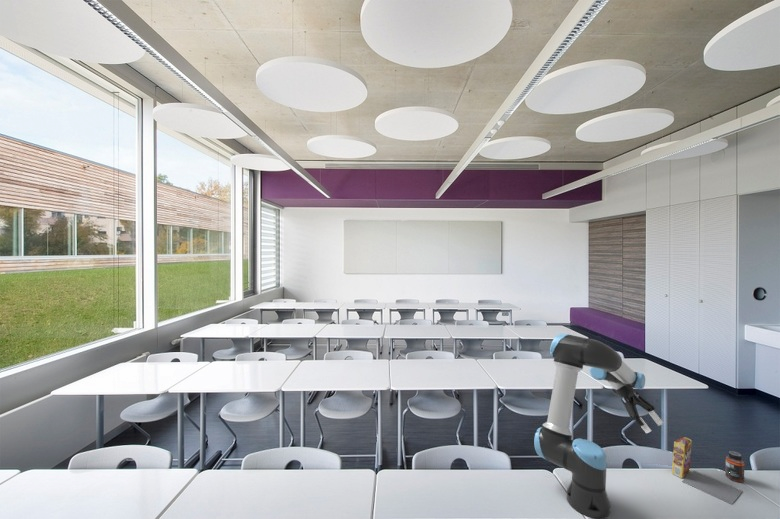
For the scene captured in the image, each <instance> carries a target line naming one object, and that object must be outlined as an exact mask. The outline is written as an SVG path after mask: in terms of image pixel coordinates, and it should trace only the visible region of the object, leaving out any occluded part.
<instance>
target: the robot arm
mask: <svg viewBox="0 0 780 519" xmlns="http://www.w3.org/2000/svg"><path fill="white" fill-rule="evenodd" d="M549 352H550V356H551V358H552V359H553V363H554V365H555V366H556V367H555V374H554V380H553V386H552V391H551V398H550V403H549V408H548V415H547V420H546V422H544V423H542V426H541V427H539V428H537V429H536V432H535V433H534V439H533V440H534V441H533V442H534V443H533V444H534V449H535V452H536V454H537V455H538V456H539V457H540V458H542V459H544V460H545V461H547V462H550V463H552V464H554V465H556V466H558V467H560V468H563V469H564V470H566V471H569V472H570V473H571V481H570V483H569V485H568V488H567V490H566V501H567V503H568V504H569V505H570V506H571V507H572V508H573V509H574V510H576V512H579V513H580V514H582V515H583V516H587V517H590V518H594V519H605V518H607V517H608V516H610V514H611V503H610V499H609V496H608V494H607V489H606V487H607V486H606V485H607V467H608V462H607V455H606V452H605V451H604V449H603V448H602V447H601V446H600V445H598V444H597V443H595V442H593V441H591V440H588V439H583V438H576V439H574V440H573V439H572V438H573V433H572V432H571V430H570V425H571V418H572V414H573V413H572V412H573V406H574V400H575V393H576V387H577V382H578V373H579V372H581V371H583V369H584V366H585V367H590V368H589V373H590V375H591V378H593V379H595V380H597V381H607V382H608V383H609V384H610V386H611V387H612V388H613V390H615V392H616V394H617V395H618V396H619V397H620V398H621V400H620V402H622V403H623V405H624V407H625V409H626V411H627V412H626V413H627V414H628V416H629V418H630V419H631V420H632V421H636V422H637V424H638V425H639V426H640V428H641V429H642V430H643V431H644V432H645V434H648V433H650V432H652V431H653V430H652V429H651V428H650V427H649V426H648V424H647V422H645V420H644V419H643V418H642V416H641V417H640V415H639V412H638V409H637V405H638V406H639V407H640V408H642V409H643V410H645V411H647V413H648V414H649V415H650V417H651V418H652V420H653V421H654V422H655V423H656V425H657V426H658V427H659V426H662V425H664V424H665V422H664V421H663V420H662V419H661V417H659V415H658V414H657V413H656V411H655V409H656V408H655V406H654V405H652V403H651V402H649V401H648V400H646V399H645V398H644V397H643V396H642V395H641V394H640V393H639V392H637V391H635V389H637V390H643V389H644V387H645V385H646V375H645V374H644V373H641V372H639V371H634V370H633V369H632V368H631V367H630V366H628V364H626V363H625V361H623V359H622V356H621V355H620V354H619V353H618V351H616V350H615V349H614V348H612V347H610V345H608V344H605V343H603V342H601V341H599V340H596V339H593V338H586V337H582V336H577V335H573V334H569V333H568V334H566V333H559V334H557V335H556V336H555V337H554V338H553V339H552V340H551V344H550V347H549ZM634 391H635V392H634Z"/></svg>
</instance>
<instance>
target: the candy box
mask: <svg viewBox="0 0 780 519" xmlns="http://www.w3.org/2000/svg"><path fill="white" fill-rule="evenodd" d="M692 442H693V441H692V439H691V438H688V437H685V436H681V435H680V436H679V437H678V438H677V439H676V440H674V442H673V452H672V454H673V455H672V467H671V474H672V475H673V476H676V477H678V478H681V479H683V478H685V476H686V475H689V474H690V473H691V472H690V470H689V469H691V455H692Z"/></svg>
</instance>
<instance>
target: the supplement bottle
mask: <svg viewBox="0 0 780 519" xmlns="http://www.w3.org/2000/svg"><path fill="white" fill-rule="evenodd" d="M742 458H743V457H742V454H741V453H739V452H738V451H734V450H729V451H728V455H726V456H725V470H724V471H725V477H726V478H728V479H729V480H731V481H734V482H737V483H743V482H745V461H744V459H742ZM729 472H730V473H729Z"/></svg>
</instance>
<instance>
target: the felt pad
mask: <svg viewBox="0 0 780 519" xmlns="http://www.w3.org/2000/svg"><path fill="white" fill-rule="evenodd" d="M681 482H682V483H684V484H687V486H691V487H693V488H695V489H697V490H699V491H701V492H703V493H706V494H708V495H710V496H712V497H714V498H717V499H718V500H721V501H723V502H725V503H727V504H729V505H733V504H734V503H735V502H736V500H737V499H738V498H739V496H741V494H742V493H743V490H741V489H738V488H737V487H734V486H732V485H729V484H727V483H724V482H722V481H719V480H717V479H716V478H712V477H710V476H708V475H706V474H703V473H701V472H699V471H696V470H693V471H691V472H689V473H688V474H687V476H686V477H684V479H683V480H681Z"/></svg>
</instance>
